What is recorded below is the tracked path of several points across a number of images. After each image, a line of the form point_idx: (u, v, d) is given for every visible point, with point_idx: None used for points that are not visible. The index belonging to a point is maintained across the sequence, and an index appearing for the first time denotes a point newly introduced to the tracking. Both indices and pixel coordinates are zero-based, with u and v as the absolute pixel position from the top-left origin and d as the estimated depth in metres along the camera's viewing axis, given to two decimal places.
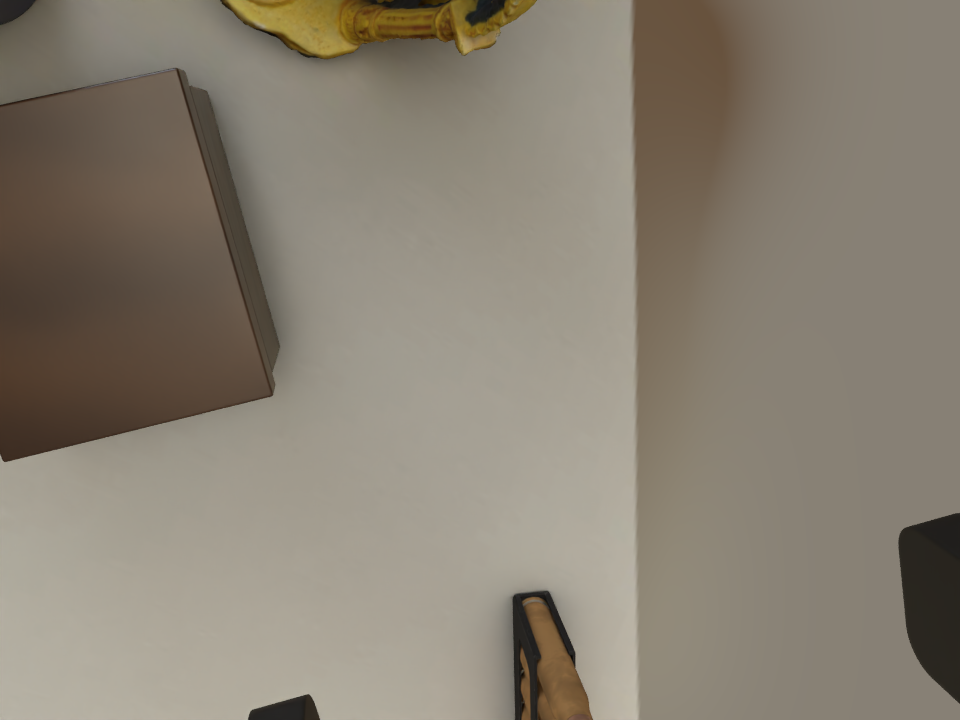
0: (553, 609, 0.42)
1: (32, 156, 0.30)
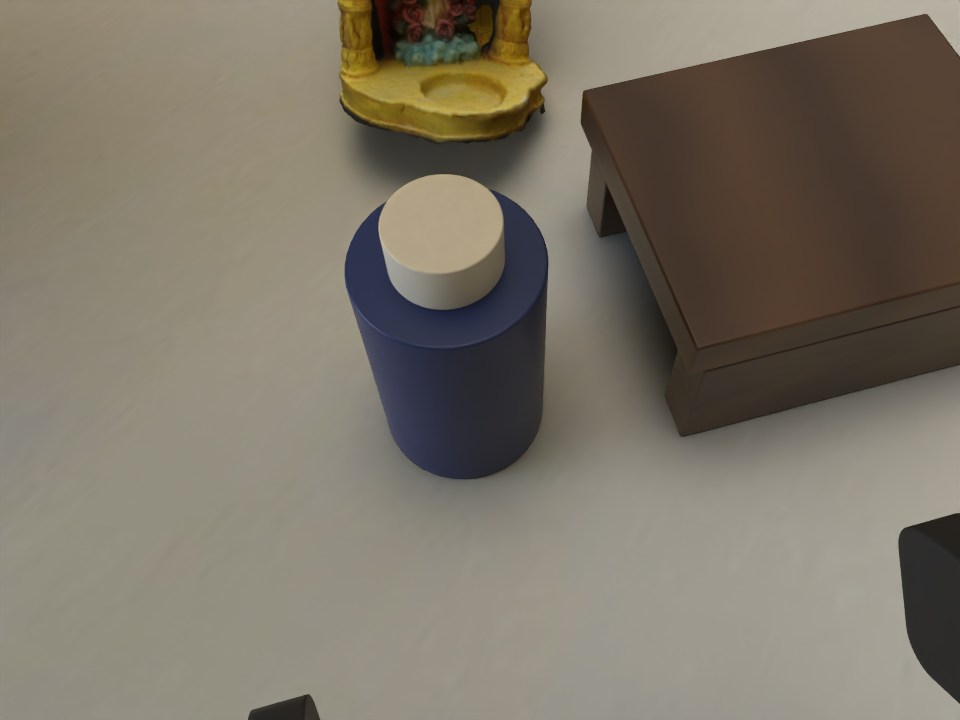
0: None
1: (698, 206, 0.26)
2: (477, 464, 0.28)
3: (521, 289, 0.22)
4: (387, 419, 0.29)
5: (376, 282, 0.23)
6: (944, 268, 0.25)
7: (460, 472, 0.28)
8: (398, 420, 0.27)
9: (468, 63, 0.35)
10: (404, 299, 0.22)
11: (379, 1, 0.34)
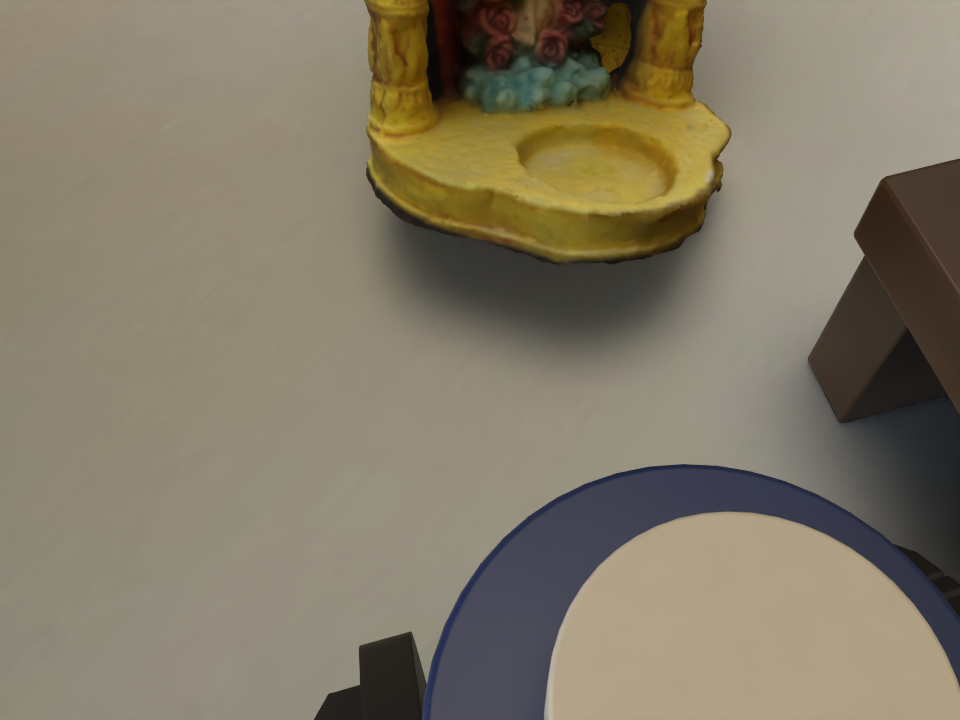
0: None
1: None
2: None
3: None
4: None
5: None
6: None
7: None
8: None
9: (592, 106, 0.20)
10: None
11: None
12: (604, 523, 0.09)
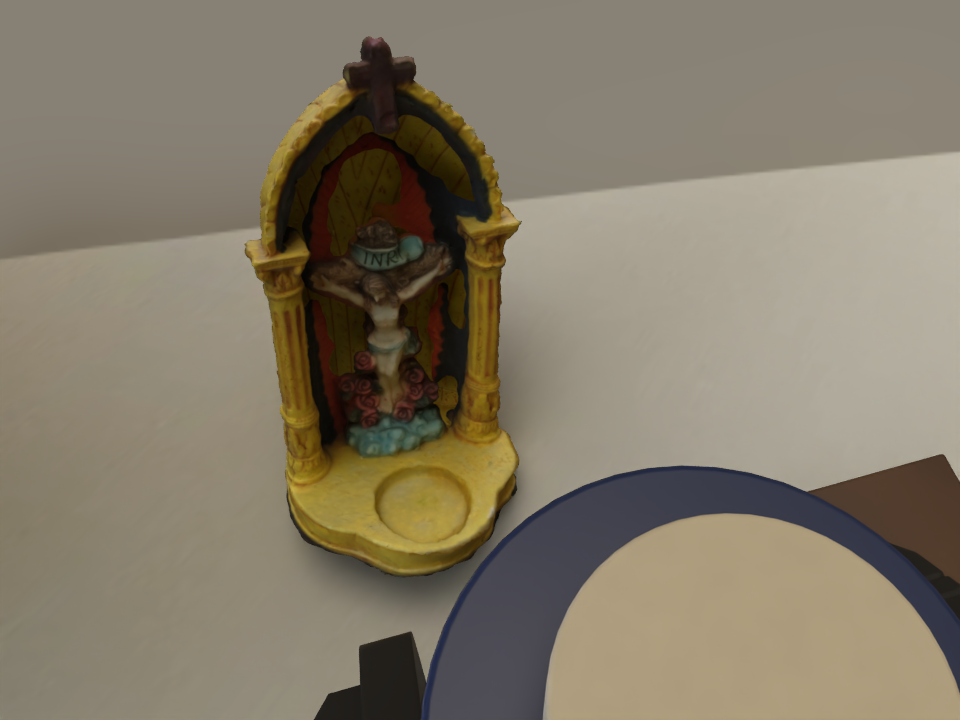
0: None
1: None
2: None
3: None
4: None
5: None
6: None
7: None
8: None
9: (430, 445, 0.31)
10: None
11: (330, 390, 0.30)
12: (603, 524, 0.09)
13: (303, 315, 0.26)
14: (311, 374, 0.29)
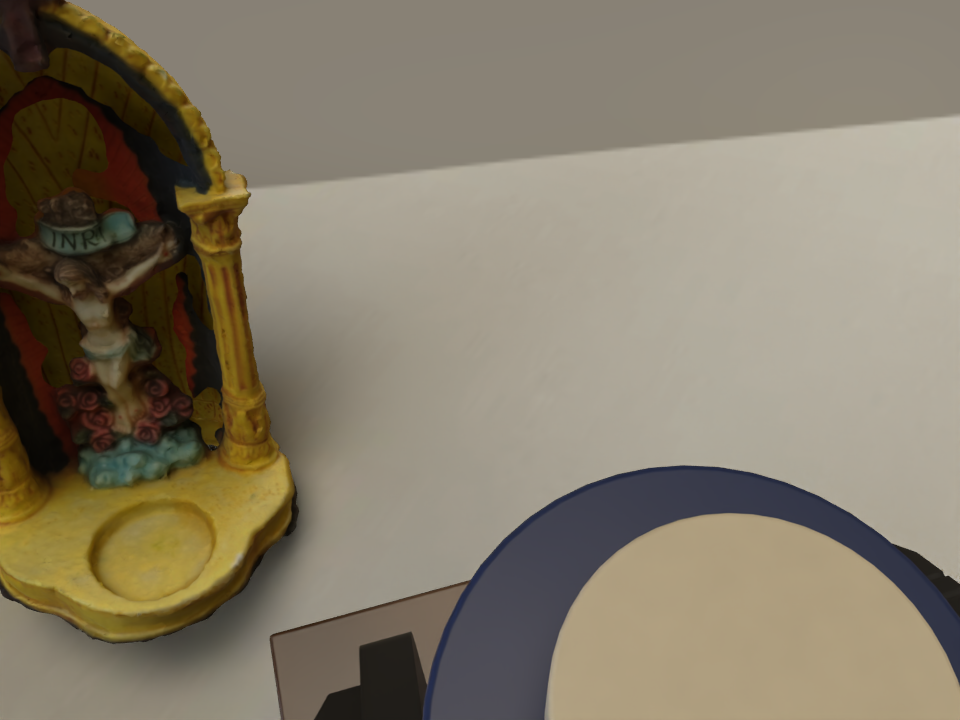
0: None
1: None
2: None
3: None
4: None
5: None
6: None
7: None
8: None
9: (184, 473, 0.25)
10: None
11: (48, 405, 0.24)
12: (605, 524, 0.09)
13: None
14: (13, 386, 0.23)
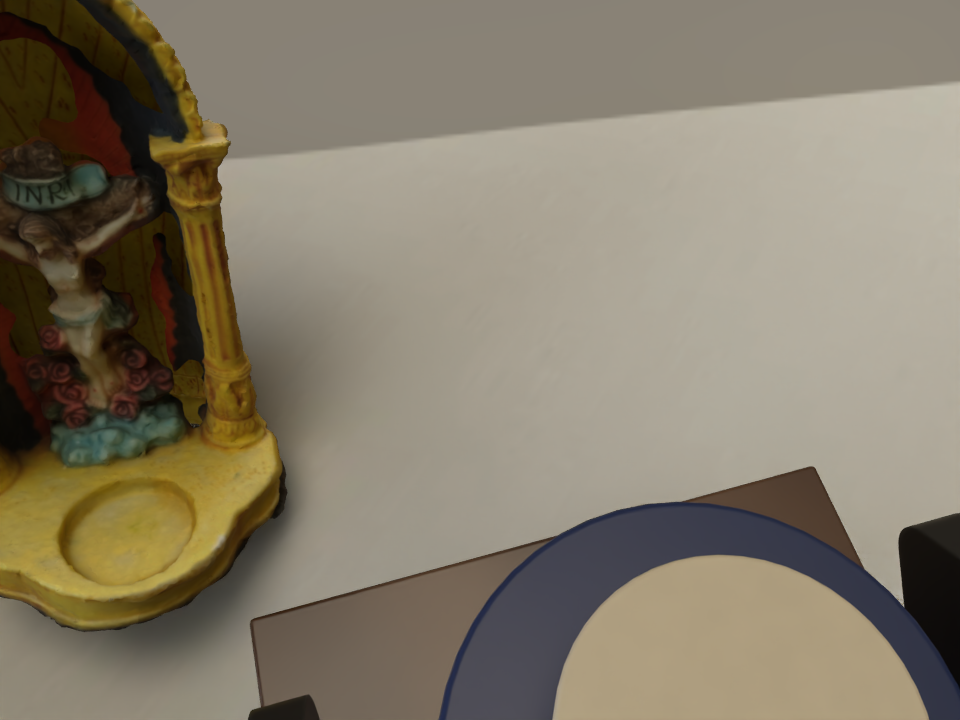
0: None
1: None
2: None
3: None
4: None
5: None
6: None
7: None
8: None
9: (164, 450, 0.24)
10: None
11: (17, 377, 0.23)
12: (605, 558, 0.09)
13: None
14: None
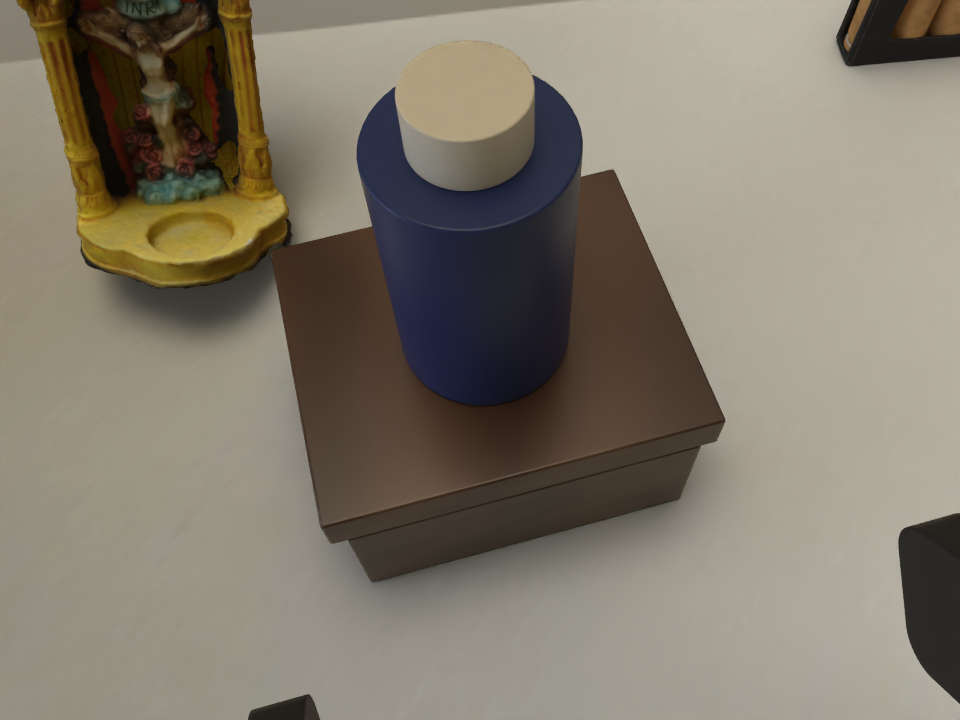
0: (848, 11, 0.40)
1: (353, 375, 0.27)
2: (500, 386, 0.26)
3: (553, 168, 0.20)
4: (401, 340, 0.26)
5: (392, 164, 0.20)
6: (571, 443, 0.26)
7: (481, 396, 0.26)
8: (414, 335, 0.24)
9: (211, 199, 0.36)
10: (424, 181, 0.20)
11: (117, 143, 0.35)
12: None
13: (68, 50, 0.31)
14: (94, 122, 0.34)
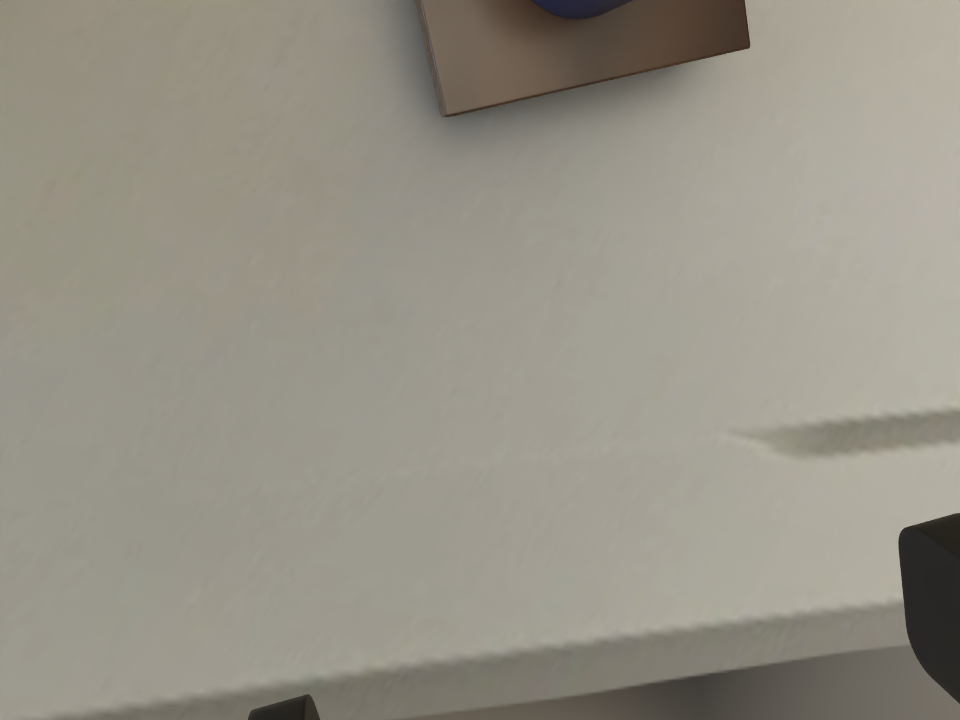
0: None
1: None
2: (594, 14, 0.32)
3: None
4: None
5: None
6: (635, 58, 0.34)
7: (575, 16, 0.32)
8: None
9: None
10: None
11: None
12: None
13: None
14: None
